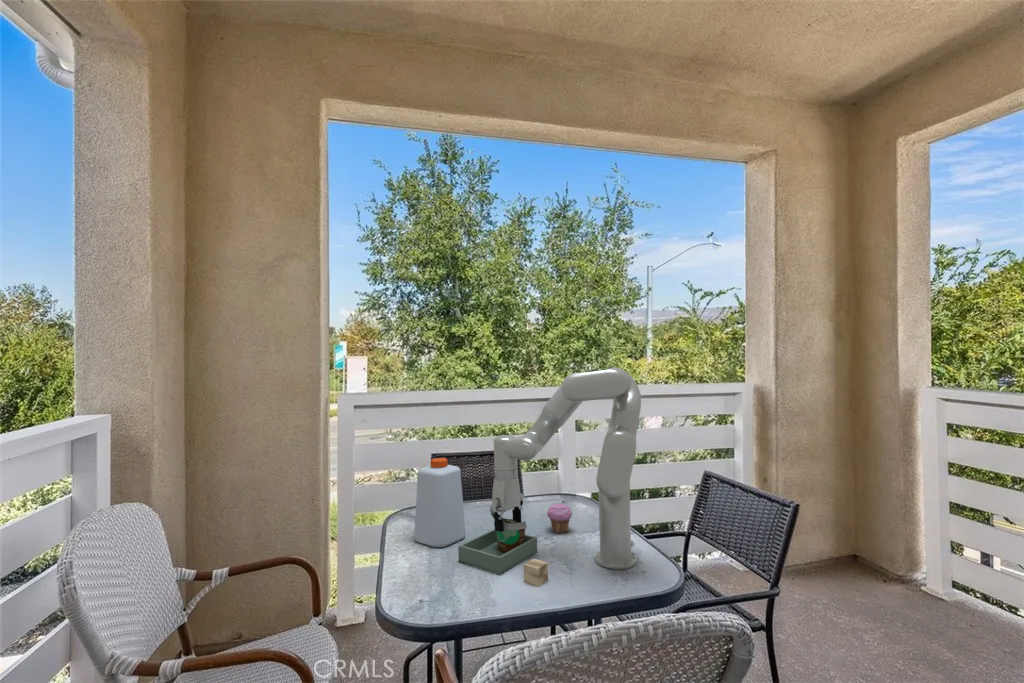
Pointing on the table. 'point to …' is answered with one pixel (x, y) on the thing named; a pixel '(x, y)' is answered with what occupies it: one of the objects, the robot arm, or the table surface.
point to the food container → (511, 535)
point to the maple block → (535, 572)
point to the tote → (495, 553)
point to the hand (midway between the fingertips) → (508, 526)
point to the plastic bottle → (439, 505)
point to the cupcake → (559, 517)
